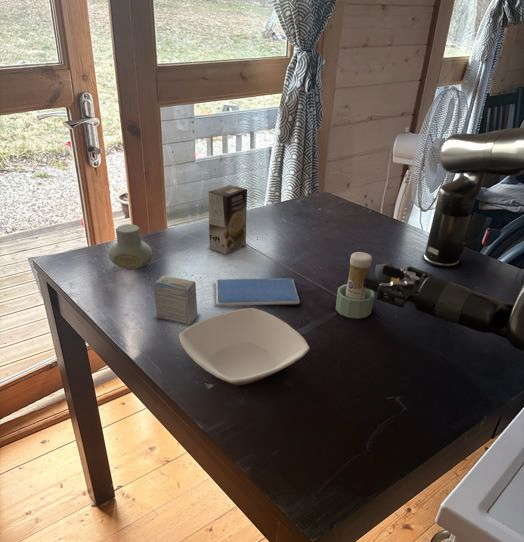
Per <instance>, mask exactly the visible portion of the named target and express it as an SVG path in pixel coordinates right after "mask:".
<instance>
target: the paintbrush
mask: <svg viewBox="0 0 524 542" xmlns="http://www.w3.org/2000/svg"><path fill="white" fill-rule="evenodd" d="M385 265H390V266H393V267H395V266H394V265H392V264H390V263H381V264H376V265H375V268H374V274H375V277H376V280H377V281H380V282H381V283H391V282H392V281H398V282H399V281H400V280H399V278H398V279H395V278H393V277H390V276H387V275H384V274H383V267H384V266H385Z"/></svg>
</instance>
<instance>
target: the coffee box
mask: <svg viewBox="0 0 524 542" xmlns="http://www.w3.org/2000/svg"><path fill="white" fill-rule="evenodd" d="M247 207H248V188H245V187H241V186H238V185H232V184H228V185H225V186H221V187H219V188H215V189H212V190H209V191H208V235H209V236H208V240H209V241H208V244H209V245H208V246H209V249H210V250H213V251H216V252H219V253H222V254H224V255H227V254H229V253H231V252H234V251H236V250H238V249H239V248H241V247H244V246H245V245H247V215H248V210H247V209H248V208H247Z"/></svg>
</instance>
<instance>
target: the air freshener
mask: <svg viewBox="0 0 524 542" xmlns="http://www.w3.org/2000/svg"><path fill="white" fill-rule="evenodd" d="M115 234H116V235H115V236H116V242H115V243H114V244H113V245H112V246H111V247H110V249H109V251H108V258H109V261H111V263H112V264H113V265H114V266H116V267H118V268H121V269H124V270H127V271H134V270H137V269H140V268H142V267H145V266H146V265H148V264H149V263H150V262H151V260H152V258H153V250H152V247H151V246H150V245H149V244H148V243H147V242H145V241H142V236H141V235H142V234H141V228H140V227H139V225H136V224H132V223H131V224H130V223H129V224H127V223H126V224H121V225H119V226H117V227H116V229H115Z"/></svg>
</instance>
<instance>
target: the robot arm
mask: <svg viewBox="0 0 524 542" xmlns="http://www.w3.org/2000/svg"><path fill="white" fill-rule="evenodd" d="M439 163H440V165H441V167H442V170H444V171H445V172H447V173H449V174H457V175H459V174H461V175H460V176H459V177H457V178H456V179H455V180H453V181H450V182H447V183H445V184H443V185H442V186H441V187H440V188H439V191H438V195H437V200H436V203H435V208H434V213H433V217H432V222H431V226H430V230H429V235H428V239H427V243H426V247H425V251H424V255H423V260H424V261H425V263H427V264H429V265H431V266H434V267H439V268H445V269H446V268H454V267H457V266H458V265H459V262H460V257H461V254H463V253H464V251H465V247H466V242H465V239H466V236H467V233H468V229H469V225H470V220H471V218H472V213H473V210H474V207H475V203H476V199H477V197H478V195H479V193H480V192H481V189H482V186H483V183H484V179H485V176H486V174H487V175H491V176H501V177H503V176H504V177H515V176H516V177H517V176H520V175H523V174H524V127H511V128H503V129H499V130H498V129H497V130H493V131H488V132H483V133H453V134H451V135H450V136H448V137H447V138H446V139H445V141H444V142H443V143H442V145H441V148H440V150H439ZM390 265H391V264H390ZM390 265H385V266H384V267H383V274H384V275H387V276H390V277H393V278H395V279H398V278H399V280H400V281H399V282H398V281H392V282H391V283H381V282H380V281H378V279H373V278H371V277H369V276H368V277H366V278H365V279H364V282H363V287H364V288H367V289H369V290H372V291H374V293H376V300H378V301H381V302H383V303H386V304H389V305H393V306H395V307H397V308H401V309H402V308H405V304H406V302H410V303H413V304H414V305H415V308H416V310H417V312H418V311H419V312H422V313H424V314H427V315H429V316H431V317H434V318H438V319H439V320H443V321H445V322H448V323H452V324H457V325H460V326H462V327H465V328H468V329H471V330H473V331H475V332H479V333H483V334H493V335H496V336H499V337H501V338H504V339H507V340H508V342H509V344H510V345H511V346H512V347H514V348H515V349H517V350H519V351H523V352H524V274H523V277H522V279H521V284H520V285H521V286H520V289H519V293H518V295H517V296H516V299H515V301H514V303H510V302H506V301H502V300H499V299H497V298H495V297H492V296H490V295H486V294H483V293H481V292H478V291H475V290H472V289H470V288H468V287H466V286H464V285H461V284H457V283H455V282H452V281H450V280H446V279H443V278H440V277H438V276H434V275H433V274H432V273H430V272H428V271H427V272H426V271H424V270H421V269H419V268H416V267H413V266H407V267H406V268H404V267H401V268H399V267H395V266H394V265H392V266H390ZM393 266H394V267H393Z"/></svg>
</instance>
